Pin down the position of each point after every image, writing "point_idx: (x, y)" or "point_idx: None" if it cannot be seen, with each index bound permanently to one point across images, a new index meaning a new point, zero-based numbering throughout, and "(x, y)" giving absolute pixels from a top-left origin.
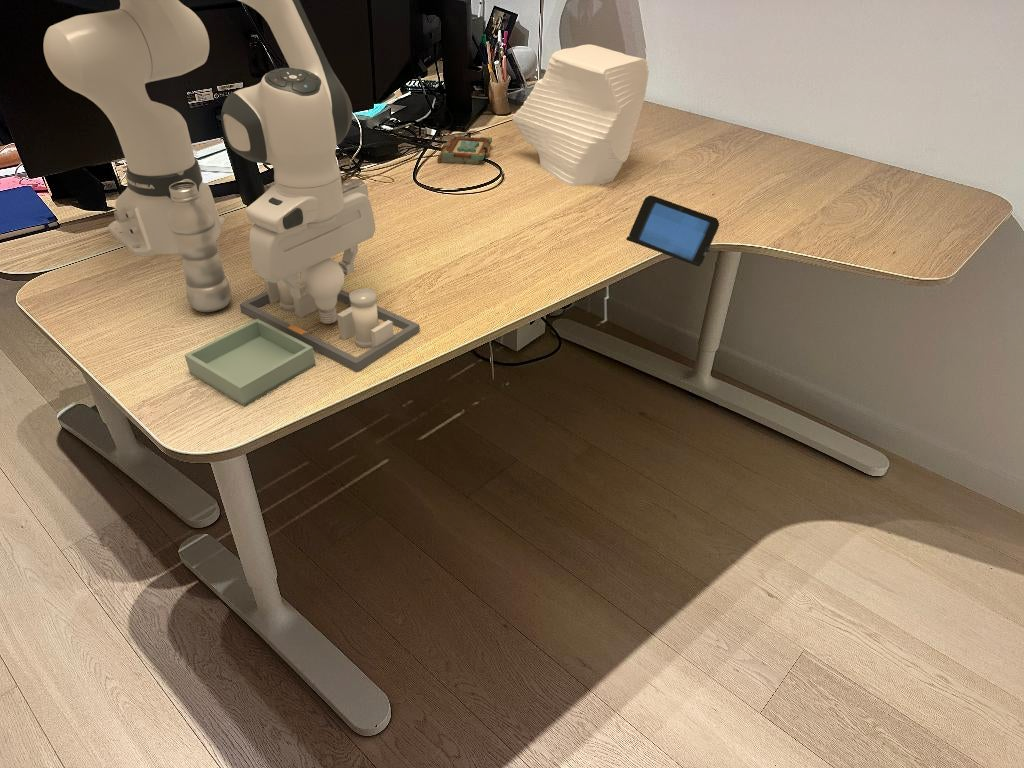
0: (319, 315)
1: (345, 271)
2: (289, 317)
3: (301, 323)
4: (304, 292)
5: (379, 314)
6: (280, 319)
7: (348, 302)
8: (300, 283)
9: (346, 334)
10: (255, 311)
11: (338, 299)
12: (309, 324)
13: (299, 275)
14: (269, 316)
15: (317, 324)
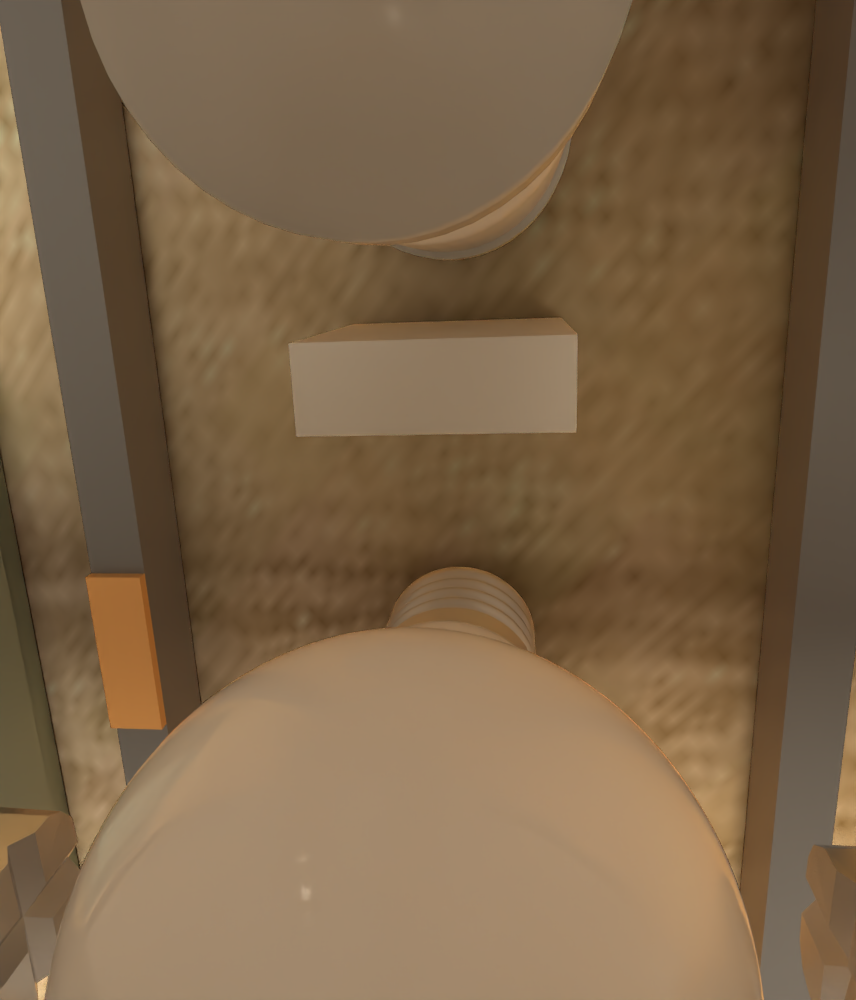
0: (403, 604)
1: (825, 988)
2: (296, 304)
3: (308, 460)
4: (35, 971)
5: (754, 908)
6: (120, 410)
7: (779, 555)
8: (516, 208)
9: None
10: (18, 95)
11: (785, 415)
12: (343, 521)
13: (532, 183)
14: (72, 289)
15: (385, 568)
